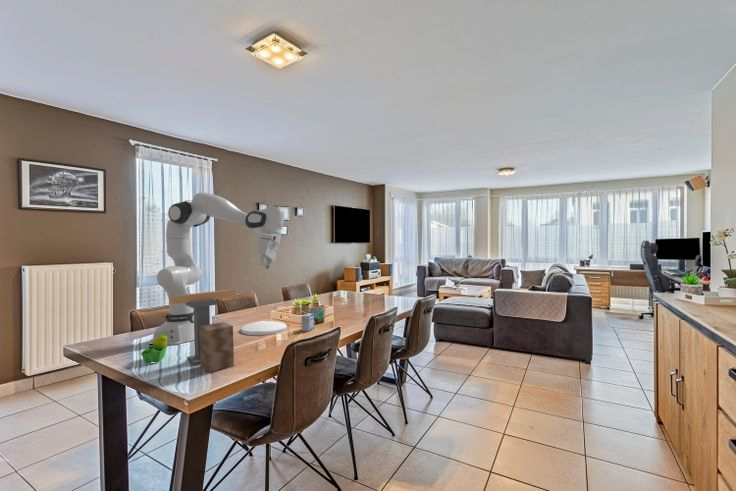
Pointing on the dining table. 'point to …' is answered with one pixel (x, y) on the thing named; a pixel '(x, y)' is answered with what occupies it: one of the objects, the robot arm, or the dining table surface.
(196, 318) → the stand
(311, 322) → the medicine box
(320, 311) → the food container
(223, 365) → the pedestal
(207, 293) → the bar
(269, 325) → the decorative plate
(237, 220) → the robot arm
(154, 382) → the dining table surface
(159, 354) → the fruit basket
